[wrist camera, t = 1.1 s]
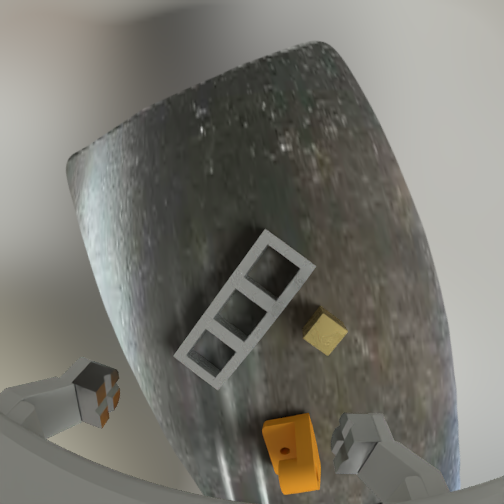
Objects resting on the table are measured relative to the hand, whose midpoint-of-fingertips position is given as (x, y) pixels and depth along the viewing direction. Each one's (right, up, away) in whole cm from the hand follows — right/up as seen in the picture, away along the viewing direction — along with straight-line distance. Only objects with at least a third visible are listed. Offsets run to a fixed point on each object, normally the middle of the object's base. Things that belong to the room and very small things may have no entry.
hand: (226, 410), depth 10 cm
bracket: (+7, -24, +33) cm, 42 cm away
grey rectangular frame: (0, -3, +34) cm, 34 cm away
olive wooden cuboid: (+11, -5, +32) cm, 34 cm away
